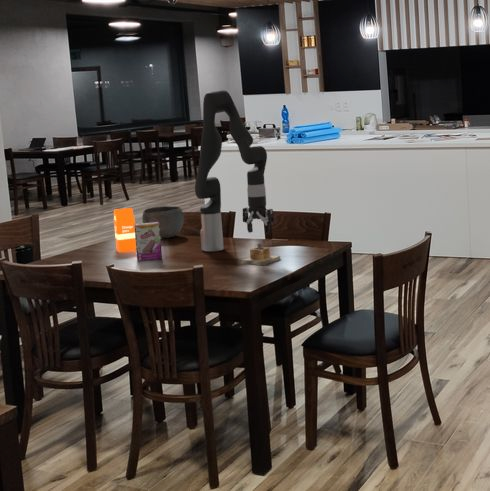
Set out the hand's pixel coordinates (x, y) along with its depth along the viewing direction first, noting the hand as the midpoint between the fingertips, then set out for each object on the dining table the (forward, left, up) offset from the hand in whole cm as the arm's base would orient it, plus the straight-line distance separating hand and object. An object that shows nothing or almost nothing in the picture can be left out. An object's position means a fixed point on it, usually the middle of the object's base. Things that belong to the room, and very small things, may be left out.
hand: (258, 232), depth 361 cm
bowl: (-81, +32, -12) cm, 88 cm away
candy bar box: (-51, -13, -12) cm, 54 cm away
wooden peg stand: (0, 0, -12) cm, 12 cm away
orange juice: (-78, +1, -12) cm, 79 cm away
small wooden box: (0, 0, -11) cm, 11 cm away
